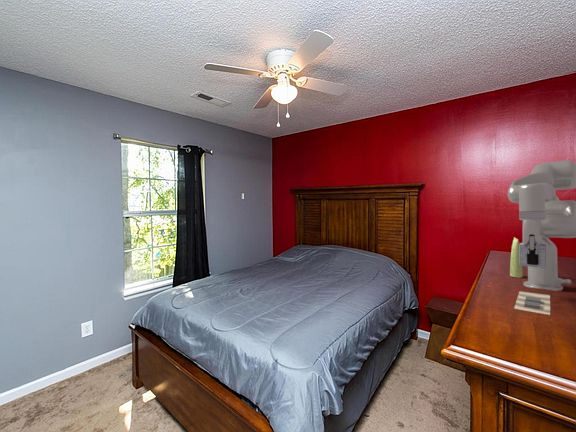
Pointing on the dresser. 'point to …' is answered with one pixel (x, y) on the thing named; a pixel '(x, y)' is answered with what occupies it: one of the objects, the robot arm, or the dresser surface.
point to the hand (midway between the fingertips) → (533, 262)
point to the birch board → (544, 298)
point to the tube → (515, 261)
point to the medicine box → (540, 251)
